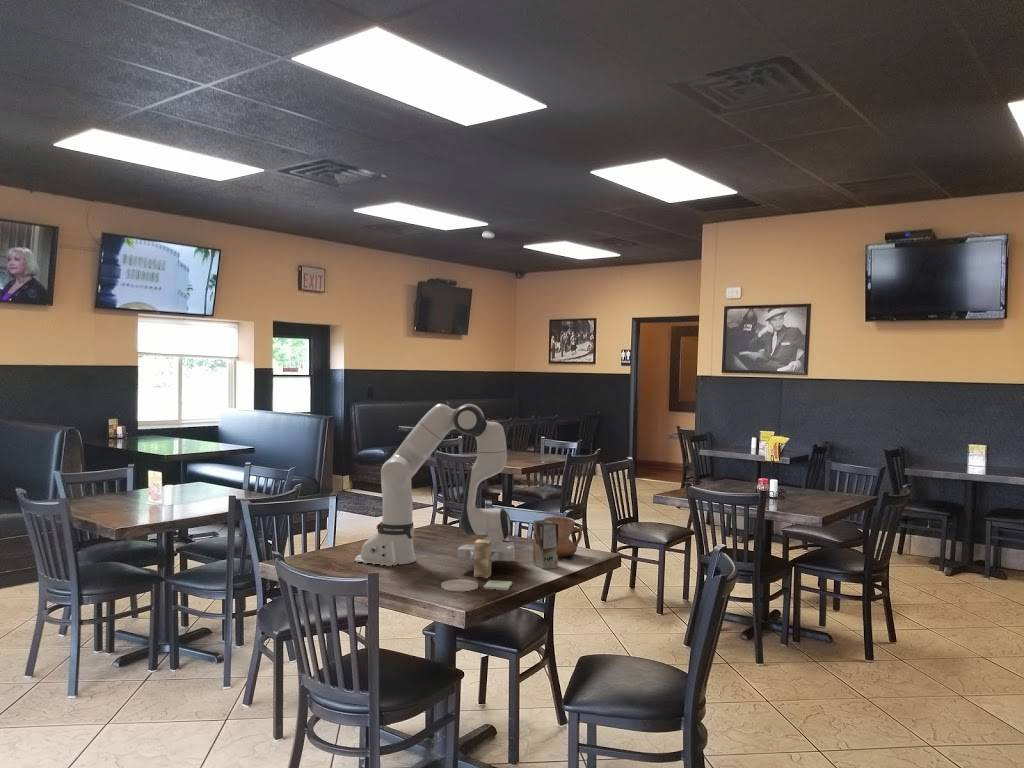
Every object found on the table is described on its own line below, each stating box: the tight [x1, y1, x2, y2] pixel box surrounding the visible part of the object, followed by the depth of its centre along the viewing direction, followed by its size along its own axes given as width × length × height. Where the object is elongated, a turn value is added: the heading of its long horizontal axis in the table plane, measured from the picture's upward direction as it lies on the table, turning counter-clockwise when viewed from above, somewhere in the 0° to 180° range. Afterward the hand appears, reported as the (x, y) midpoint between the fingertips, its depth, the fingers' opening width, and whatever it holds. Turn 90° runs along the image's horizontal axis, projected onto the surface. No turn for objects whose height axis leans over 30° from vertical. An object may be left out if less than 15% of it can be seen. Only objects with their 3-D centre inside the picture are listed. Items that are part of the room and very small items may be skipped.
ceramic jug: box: [542, 516, 583, 558], centre depth 296 cm, size 18×14×14 cm
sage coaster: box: [483, 579, 513, 591], centre depth 250 cm, size 8×8×1 cm
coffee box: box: [532, 519, 559, 570], centre depth 279 cm, size 9×6×16 cm
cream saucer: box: [440, 578, 479, 592], centre depth 248 cm, size 12×12×1 cm
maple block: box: [473, 539, 492, 579], centre depth 263 cm, size 5×5×12 cm
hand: (481, 557), depth 262 cm, fingers closed on maple block, 5 cm apart
